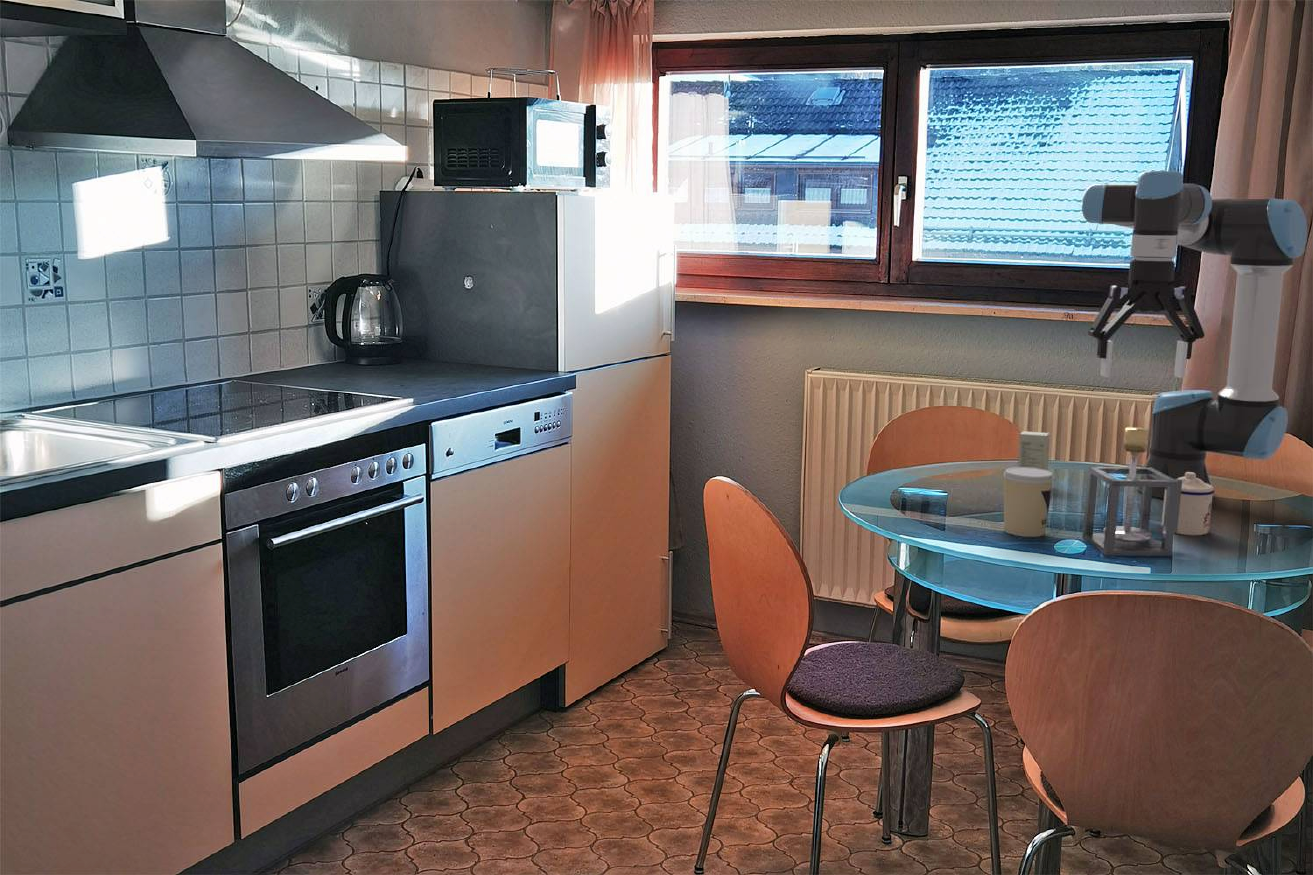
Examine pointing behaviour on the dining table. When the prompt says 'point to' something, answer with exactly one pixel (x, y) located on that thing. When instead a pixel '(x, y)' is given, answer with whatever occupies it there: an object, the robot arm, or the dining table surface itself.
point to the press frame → (1171, 515)
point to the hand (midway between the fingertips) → (1142, 376)
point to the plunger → (1133, 443)
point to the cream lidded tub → (1026, 500)
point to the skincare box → (1033, 450)
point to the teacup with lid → (1193, 506)
